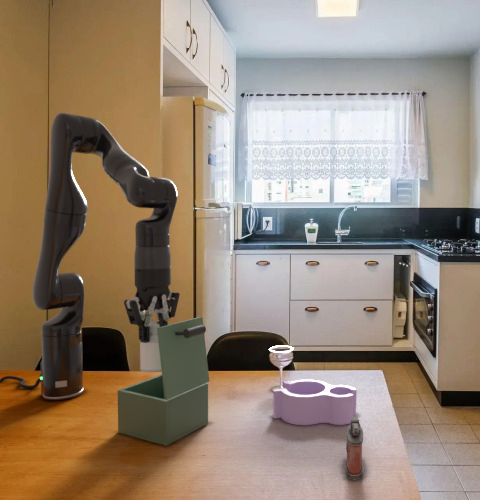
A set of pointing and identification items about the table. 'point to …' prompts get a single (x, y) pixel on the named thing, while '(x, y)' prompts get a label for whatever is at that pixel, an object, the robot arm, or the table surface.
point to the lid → (183, 356)
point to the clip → (314, 403)
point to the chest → (161, 411)
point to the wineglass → (280, 358)
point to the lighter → (354, 449)
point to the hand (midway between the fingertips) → (153, 339)
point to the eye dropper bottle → (150, 351)
